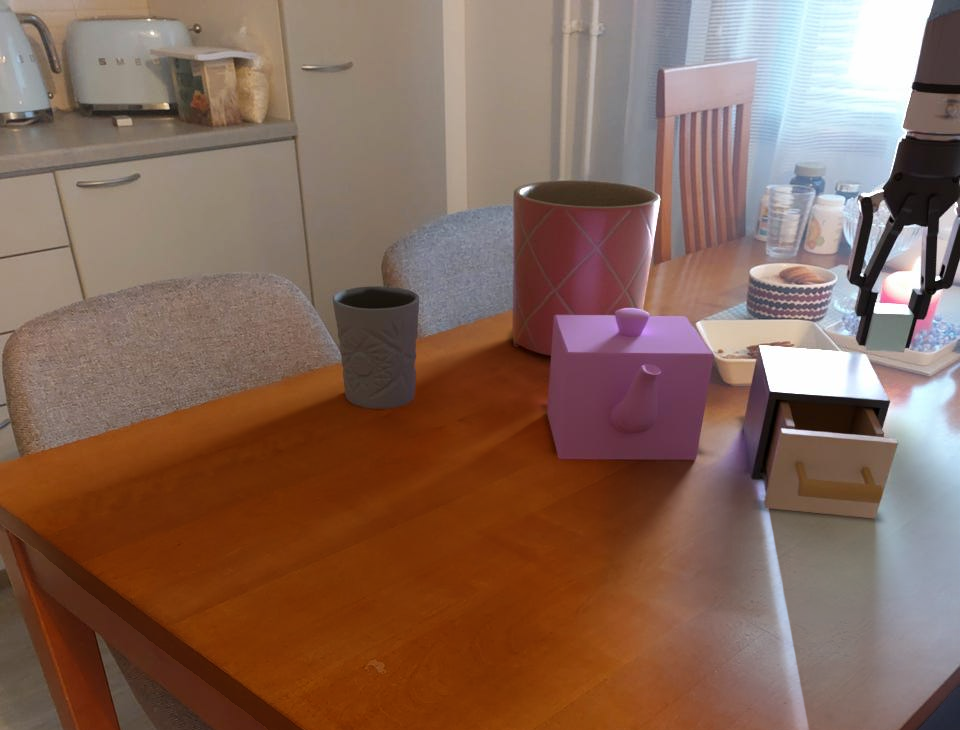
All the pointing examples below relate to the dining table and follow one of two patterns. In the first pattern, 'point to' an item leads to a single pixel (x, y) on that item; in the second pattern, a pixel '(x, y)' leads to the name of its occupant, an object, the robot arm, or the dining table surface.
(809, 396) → the cabinet
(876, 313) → the block
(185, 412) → the dining table surface
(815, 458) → the drawer
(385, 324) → the gray embossed cup
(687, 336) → the teapot
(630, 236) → the planter
